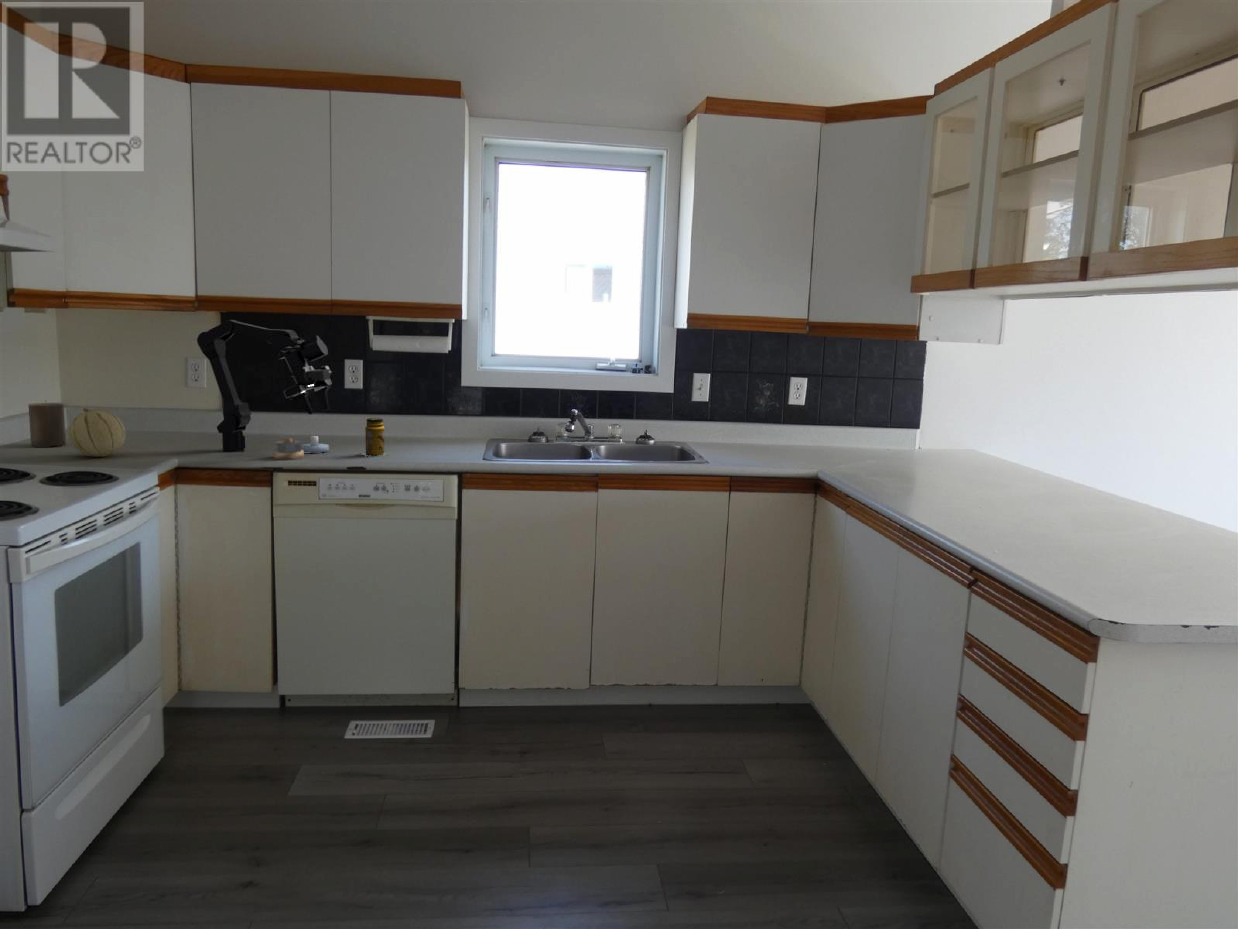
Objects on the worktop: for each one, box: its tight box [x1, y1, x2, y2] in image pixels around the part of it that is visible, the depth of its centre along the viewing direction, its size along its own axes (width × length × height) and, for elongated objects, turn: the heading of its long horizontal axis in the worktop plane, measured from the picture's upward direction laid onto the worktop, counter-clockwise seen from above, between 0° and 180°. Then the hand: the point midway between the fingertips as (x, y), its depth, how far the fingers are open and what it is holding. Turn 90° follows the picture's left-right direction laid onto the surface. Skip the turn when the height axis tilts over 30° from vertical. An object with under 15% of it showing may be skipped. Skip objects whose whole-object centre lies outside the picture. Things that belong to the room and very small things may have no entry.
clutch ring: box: [275, 439, 302, 453], centre depth 279 cm, size 7×7×3 cm
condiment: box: [355, 417, 390, 458], centre depth 290 cm, size 7×8×12 cm
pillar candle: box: [27, 399, 67, 448], centre depth 286 cm, size 10×10×15 cm
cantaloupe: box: [68, 407, 126, 458], centre depth 269 cm, size 15×15×15 cm
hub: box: [301, 435, 330, 454], centre depth 293 cm, size 9×9×5 cm
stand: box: [273, 437, 305, 461], centre depth 279 cm, size 9×9×6 cm
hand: (319, 411), depth 285 cm, fingers open, 9 cm apart
